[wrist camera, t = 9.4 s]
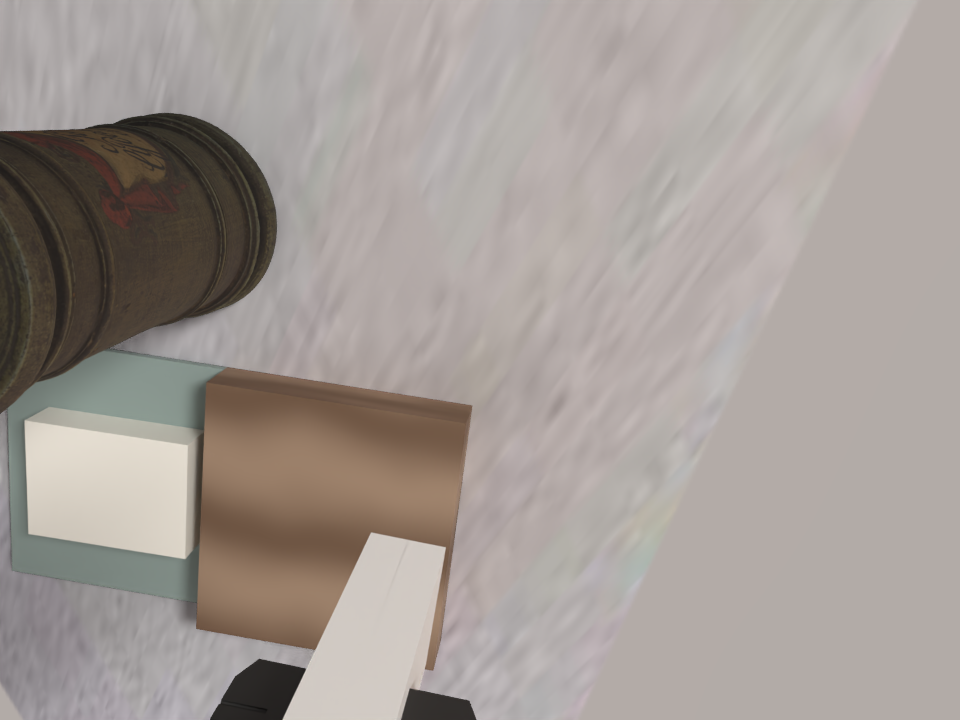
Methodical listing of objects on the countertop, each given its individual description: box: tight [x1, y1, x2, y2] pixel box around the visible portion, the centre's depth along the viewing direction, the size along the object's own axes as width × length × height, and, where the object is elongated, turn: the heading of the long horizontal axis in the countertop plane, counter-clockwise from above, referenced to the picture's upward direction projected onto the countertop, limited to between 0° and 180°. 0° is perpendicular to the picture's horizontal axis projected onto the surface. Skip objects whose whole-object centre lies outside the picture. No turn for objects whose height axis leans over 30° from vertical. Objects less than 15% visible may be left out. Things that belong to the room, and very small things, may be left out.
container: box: [0, 113, 277, 413], centre depth 30 cm, size 9×9×18 cm
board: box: [196, 367, 472, 670], centre depth 41 cm, size 13×12×2 cm
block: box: [25, 407, 204, 559], centre depth 42 cm, size 6×8×2 cm
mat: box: [7, 349, 227, 603], centre depth 43 cm, size 13×11×1 cm
